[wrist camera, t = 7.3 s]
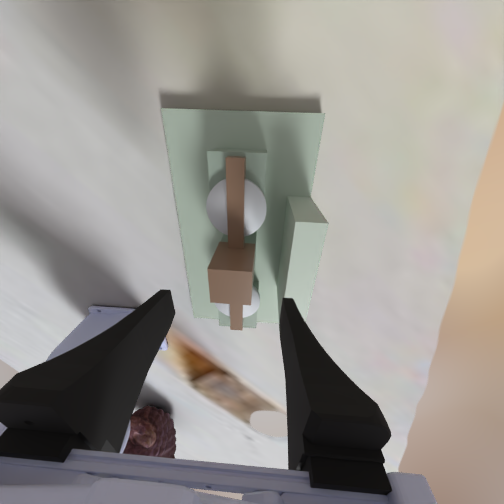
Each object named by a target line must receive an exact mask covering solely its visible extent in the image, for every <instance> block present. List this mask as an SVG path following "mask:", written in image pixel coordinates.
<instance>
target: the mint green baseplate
mask: <svg viewBox="0 0 504 504" xmlns="http://www.w3.org/2000/svg"><path fill="white" fill-rule="evenodd" d="M161 112H162V118H163V124H164V131H165V137H166V143H167V150H168V156H169V162H170V169H171V175H172V181H173V188H174V194H175V200H176V207H177V213H178V220H179V226H180V232H181V239H182V245H183V251H184V258H185V264H186V270H187V277H188V283H189V289H190V296H191V302H192V308H193V315H194V318H206V319H219V326H230V316H227V315H225V314H223V313H222V312H220V311H219V310H218V309H217V307H216V306H215V303H210V293H209V283H208V272H207V268H208V266H209V264H210V262H211V259H212V257H213V255H214V253H215V250H216V248H217V246H218V244H219V242H228V235H226V234H224V233H222V232H220V231H219V230H218V229H216V228H215V227H214V226H213V224H212V223H211V221H210V219H209V217H208V214H207V210H206V203H207V198H208V195H209V193H210V191H211V190H212V189H213V187H214V186H215V185H216V184H217V183H219V182H220V181H222V180H224V179H226V157H227V156H240V157H246V179H248V180H250V181H252V182H253V183H255V184H256V185H257V186H258V187H259V188H260V189H261V191H262V192H263V194H264V197H265V200H266V216H265V220H264V222H263V224H262V225H261V227H260V228H259V229H258V230H257V231H255V232H254V233H252V234H250V235H248V236H245V243H253V244H255V263H254V279H253V285H254V286H255V287H256V288H257V290H258V292H259V294H260V306H259V308H258V310H257V311H256V312H255V313H254V314H252V315H251V316H248V317H244V318H243V327H246V328H256V324H257V322H261V323H275V324H279V330H280V321H279V320H280V313H281V306H282V299H283V298H293V299H294V301H295V303H296V306H297V308H298V310H299V312H300V313H301V315H302V317H303V319H304V321H305V322H306V318H307V314H308V309H309V305H310V301H311V297H312V292H313V288H314V284H315V279H316V275H317V271H318V267H319V262H320V258H321V254H322V249H323V245H324V241H325V237H326V232H327V228H328V224H329V223H328V222H327V220H326V219H325V217H324V216H323V215H322V213H321V212H320V210H319V209H318V207H317V206H316V204H315V203H314V201H313V200H312V198H311V192H312V186H313V180H314V175H315V169H316V163H317V157H318V152H319V146H320V140H321V135H322V129H323V123H324V117H325V113H297V112H266V111H235V110H203V109H172V108H161Z"/></svg>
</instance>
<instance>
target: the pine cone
mask: <svg viewBox="0 0 504 504" xmlns="http://www.w3.org/2000/svg"><path fill="white" fill-rule="evenodd" d="M175 434H176V431H175V429H174V422H173V420H172V419H170V414H169V413H167V412H164V411H163V410H162V409H157V408H156V407H151V406H149V405H147V406H145V407H144V408H142V409H139V410H137V411H135V412H134V413H133V414H132V416H131V419H130V435H129V438H128V441H127V444H126V447H125V449H124V451H123V454H133V455H143V456H153V457H163V458H174V459H175V457H174V454H175V451H176V444H175V441H176V437H175Z"/></svg>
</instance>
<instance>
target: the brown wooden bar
mask: <svg viewBox="0 0 504 504" xmlns="http://www.w3.org/2000/svg"><path fill="white" fill-rule="evenodd" d="M206 210H207V214H208V217H209V219H210V221H211V223H212V224H213V226H214V227H215V228H216V229H218V230H219V231H220V232H222V233H224V234H226V235H228V242H219V244H218V246H217V248H216V250H215V253H214V255H213V257H212V259H211V262H210V264H209V266H208V268H207V272H208V283H209V293H210V303H215V306H216V307H217V309H218V310H219V311H220V312H222V313H223V314H225V315H227V316H230V328H231V330H242V328H243V318H244V317H248V316H251V315H252V314H254V313H255V312H256V311H257V310H258V308H259V306H260V294H259V292H258V290H257V288H256V287H255V286H254V285H253V279H254V263H255V244H253V243H245V236H248V235H250V234H252V233H254V232H255V231H257V230H258V229H259V228H260V227H261V225H262V224H263V222H264V220H265V216H266V200H265V197H264V194H263V192H262V191H261V189H260V188H259V187H258V186H257V185H256V184H255V183H253V182H252V181H250V180H248V179H246V157H240V156H227V157H226V179H224V180H222V181H220V182H219V183H217V184H216V185H215V186H214V187H213V189H212V190H211V191H210V193H209V195H208V198H207V203H206Z"/></svg>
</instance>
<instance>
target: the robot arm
mask: <svg viewBox="0 0 504 504" xmlns="http://www.w3.org/2000/svg"><path fill="white" fill-rule="evenodd" d="M88 310H89V312H90V314H89V315H88V316H87V317H86V318H85V319H84V320H83V321H82V322H81V323H80V324H79V325H78V326H77V327H76V328H75V329H74V330H73V331H72V332H71V333H70V334H69V335H68V336H67V337H66V338H65V339H64V340H63V341H62V342H61V343H60V344H59V345H58V346H57V347H56V348H55V349H54V351H53V352H52V353H51V354H50V356H49V357H48V359H47V360H46V362H44V363H41V364H39V365H37V366H34V367H32V368H29V369H27V370H25V371H22V372H20V373H17V374H16V375H15V376H14V377H13V378H12V379H11V380H10V381H9V382H8V383H7V384H5V385H4V386H3V387H2V388H1V389H0V422H1V423H0V504H437V502H436V500H435V497H434V495H433V493H432V491H431V489H430V487H429V484H428V482H427V480H426V478H425V477H424V476H423V475H420V474H410V473H399V472H391V473H387V474H386V471H385V469H384V466H383V463H385V459H384V456H383V454H382V451H381V449H382V448H383V447H384V445H385V444H386V443H387V442H388V441H389V439H390V437H391V431H390V429H389V427H388V424H387V422H386V420H385V418H384V416H383V414H382V412H381V410H380V408H379V406H378V404H377V403H376V402H374V401H373V400H372V399H371V398H370V397H369V396H368V395H367V394H365V393H364V392H363V391H362V390H361V389H360V388H359V387H358V386H357V385H356V384H355V383H354V382H353V381H352V380H351V379H350V378H349V377H348V376H347V375H346V374H345V373H344V372H343V371H342V370H341V369H340V368H339V367H338V366H337V364H336V363H335V362H334V361H333V360H332V359H331V358H330V356H329V355H328V354H327V353H326V351H325V350H324V349H323V348H322V346H321V345H320V344H319V342H318V341H317V339H316V338H315V336H314V335H313V334H312V332H311V330H310V329H309V327H308V326H307V324H306V322H305V321H304V319H303V317H302V315H301V313H300V312H299V310H298V308H297V306H296V303H295V301H294V299H293V298H283V299H282V306H281V313H280V320H279V321H280V340H281V348H282V355H283V363H284V370H285V379H286V400H287V426H288V468H289V470H286V469H276V468H266V467H255V466H245V465H235V464H225V463H215V462H204V461H194V460H184V459H174V458H163V457H153V456H143V455H133V454H123V451H124V449H125V447H126V444H127V441H128V438H129V435H130V419H131V416H132V413H133V410H134V407H135V405H136V402H137V399H138V396H139V394H140V391H141V388H142V386H143V383H144V381H145V378H146V376H147V373H148V371H149V368H150V366H151V364H152V362H153V360H154V358H155V356H156V354H157V352H158V350H167V349H168V344H167V340H166V335H167V333H168V331H169V329H170V326H171V324H172V321H173V318H174V315H175V309H174V305H173V300H172V296H171V291H170V290H160V291H158V292H157V293H156V294H155V295H153V296H152V297H151V298H150V299H148V300H147V301H146V302H145V303H143V304H142V305H141V306H139V307H138V308H137V309H130V308H116V307H102V306H90V307H89V308H88ZM190 488H194V489H204V490H213V491H223V492H233V493H242V494H244V495H243V496H242V500H238V499H232V498H228V497H222V496H217V495H212V494H207V493H203V492H197V491H194V490H193V489H190Z"/></svg>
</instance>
